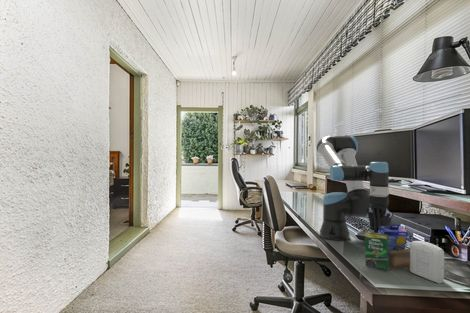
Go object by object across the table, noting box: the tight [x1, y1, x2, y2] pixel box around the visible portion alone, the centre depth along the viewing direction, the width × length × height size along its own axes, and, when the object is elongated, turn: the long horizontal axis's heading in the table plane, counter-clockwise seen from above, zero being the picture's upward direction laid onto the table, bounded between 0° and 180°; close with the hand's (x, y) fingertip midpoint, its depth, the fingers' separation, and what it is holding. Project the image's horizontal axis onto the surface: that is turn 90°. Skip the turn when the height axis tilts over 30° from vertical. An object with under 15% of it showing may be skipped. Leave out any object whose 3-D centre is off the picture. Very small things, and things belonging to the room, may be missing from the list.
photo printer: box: [409, 240, 445, 284], centre depth 92 cm, size 10×4×12 cm, turn 24°
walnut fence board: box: [389, 248, 410, 271], centre depth 102 cm, size 2×20×6 cm, turn 108°
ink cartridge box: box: [378, 224, 409, 256], centre depth 111 cm, size 10×6×14 cm, turn 88°
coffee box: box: [364, 231, 390, 271], centre depth 100 cm, size 8×3×13 cm, turn 49°
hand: (379, 247), depth 117 cm, fingers closed
